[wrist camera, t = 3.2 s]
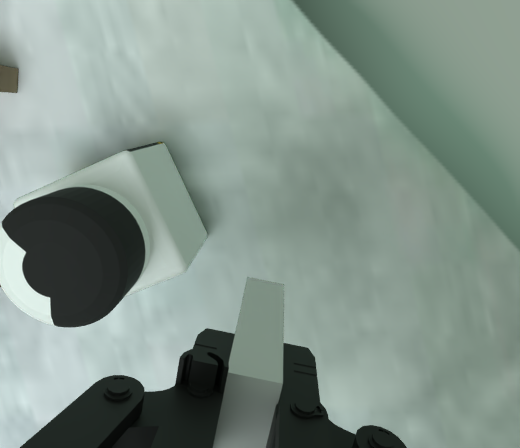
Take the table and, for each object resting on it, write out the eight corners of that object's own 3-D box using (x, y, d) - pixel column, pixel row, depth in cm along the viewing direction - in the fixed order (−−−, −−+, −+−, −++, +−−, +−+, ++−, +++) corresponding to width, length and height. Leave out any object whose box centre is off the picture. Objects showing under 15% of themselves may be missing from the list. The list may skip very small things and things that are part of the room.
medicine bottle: (164, 139, 29) (83, 158, 17) (210, 236, 30) (163, 314, 19) (71, 181, 30) (-64, 225, 18) (119, 273, 32) (22, 368, 20)
